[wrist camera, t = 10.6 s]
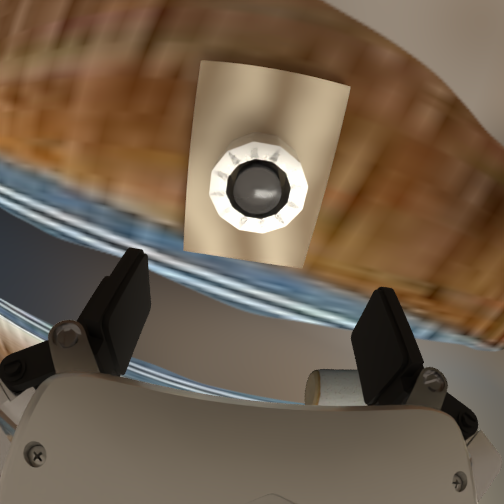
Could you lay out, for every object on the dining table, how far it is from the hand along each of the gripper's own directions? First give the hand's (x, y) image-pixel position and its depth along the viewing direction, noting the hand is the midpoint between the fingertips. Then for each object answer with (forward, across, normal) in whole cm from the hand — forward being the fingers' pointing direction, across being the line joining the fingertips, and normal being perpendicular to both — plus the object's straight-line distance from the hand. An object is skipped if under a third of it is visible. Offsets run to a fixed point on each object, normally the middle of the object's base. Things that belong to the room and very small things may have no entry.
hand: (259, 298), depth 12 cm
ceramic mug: (+18, -17, +31) cm, 39 cm away
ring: (+15, 0, 0) cm, 15 cm away
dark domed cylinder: (+15, 0, 0) cm, 15 cm away
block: (+17, 0, 0) cm, 17 cm away
